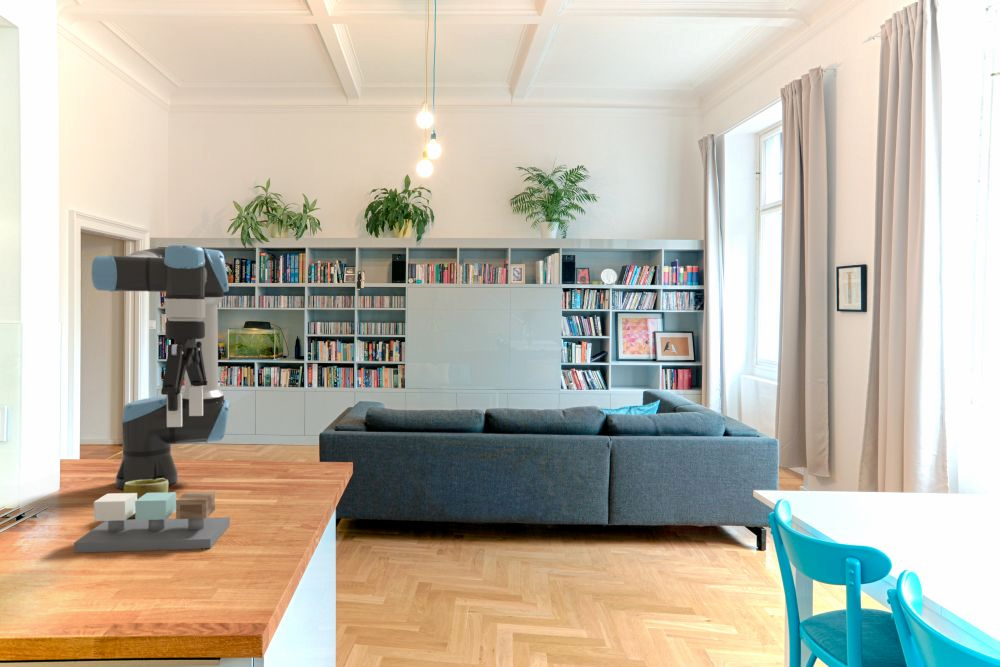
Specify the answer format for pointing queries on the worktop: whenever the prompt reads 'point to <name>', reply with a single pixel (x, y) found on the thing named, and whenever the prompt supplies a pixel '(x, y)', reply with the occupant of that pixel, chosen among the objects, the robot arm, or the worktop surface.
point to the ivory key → (115, 507)
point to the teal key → (155, 506)
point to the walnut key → (195, 505)
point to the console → (153, 535)
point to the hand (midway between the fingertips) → (185, 421)
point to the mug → (146, 487)
